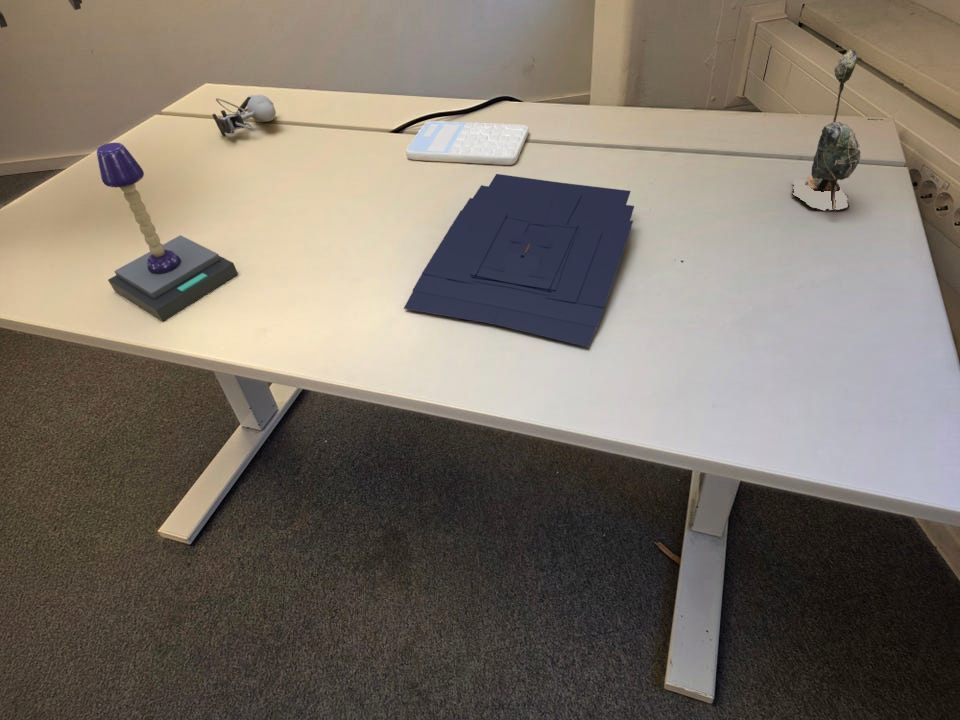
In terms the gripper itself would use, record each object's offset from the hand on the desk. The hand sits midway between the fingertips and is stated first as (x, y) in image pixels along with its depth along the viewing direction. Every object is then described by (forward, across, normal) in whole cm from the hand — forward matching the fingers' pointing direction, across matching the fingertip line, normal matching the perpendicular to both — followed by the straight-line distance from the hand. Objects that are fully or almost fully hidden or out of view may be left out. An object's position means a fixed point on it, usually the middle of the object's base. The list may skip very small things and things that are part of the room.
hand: (41, 13), depth 73 cm
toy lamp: (+31, +3, -8) cm, 32 cm away
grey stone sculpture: (+72, -72, +28) cm, 106 cm away
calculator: (+34, -52, -10) cm, 63 cm away
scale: (+33, +3, -10) cm, 35 cm away
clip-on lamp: (+3, -30, -40) cm, 50 cm away
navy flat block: (+57, -33, +13) cm, 67 cm away
